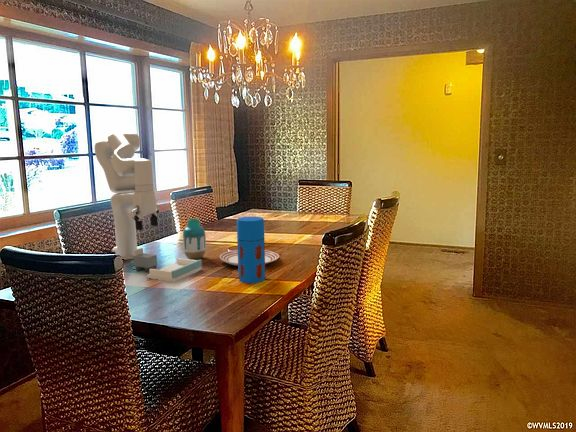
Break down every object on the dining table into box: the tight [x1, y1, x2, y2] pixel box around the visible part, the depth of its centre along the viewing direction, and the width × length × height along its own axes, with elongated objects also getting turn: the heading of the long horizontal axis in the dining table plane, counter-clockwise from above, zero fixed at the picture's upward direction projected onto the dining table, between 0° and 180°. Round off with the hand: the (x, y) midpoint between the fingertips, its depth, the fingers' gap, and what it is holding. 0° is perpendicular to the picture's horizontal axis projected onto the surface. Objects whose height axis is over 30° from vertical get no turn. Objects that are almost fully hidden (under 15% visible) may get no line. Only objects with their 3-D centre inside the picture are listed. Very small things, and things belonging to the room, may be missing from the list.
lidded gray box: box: [133, 247, 158, 273], centre depth 201 cm, size 8×6×9 cm
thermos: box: [236, 216, 266, 284], centre depth 185 cm, size 11×11×25 cm
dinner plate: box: [219, 249, 280, 267], centre depth 213 cm, size 28×27×3 cm
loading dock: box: [146, 257, 203, 283], centre depth 195 cm, size 14×19×4 cm
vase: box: [182, 217, 207, 260], centre depth 218 cm, size 11×11×19 cm
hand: (146, 227), depth 199 cm, fingers open, 9 cm apart
